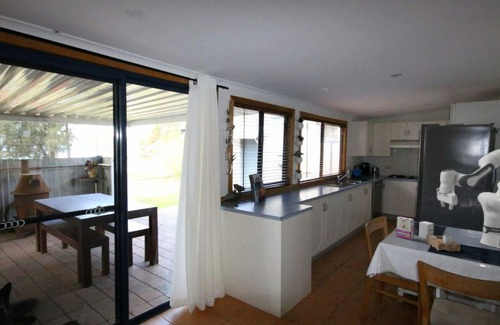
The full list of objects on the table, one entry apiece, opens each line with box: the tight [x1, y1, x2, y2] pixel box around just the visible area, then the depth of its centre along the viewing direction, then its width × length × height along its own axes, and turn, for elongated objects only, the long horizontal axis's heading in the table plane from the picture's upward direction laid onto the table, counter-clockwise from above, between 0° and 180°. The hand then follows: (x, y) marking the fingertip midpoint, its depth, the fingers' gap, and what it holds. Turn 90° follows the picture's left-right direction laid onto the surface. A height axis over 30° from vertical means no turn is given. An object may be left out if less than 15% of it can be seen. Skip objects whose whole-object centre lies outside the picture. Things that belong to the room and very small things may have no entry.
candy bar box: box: [396, 216, 415, 241], centre depth 213 cm, size 11×5×16 cm, turn 37°
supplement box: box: [418, 220, 435, 240], centre depth 213 cm, size 7×7×13 cm
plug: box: [442, 234, 453, 244], centre depth 190 cm, size 4×4×10 cm
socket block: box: [425, 235, 461, 253], centre depth 195 cm, size 14×18×5 cm
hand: (446, 208), depth 202 cm, fingers open, 8 cm apart
